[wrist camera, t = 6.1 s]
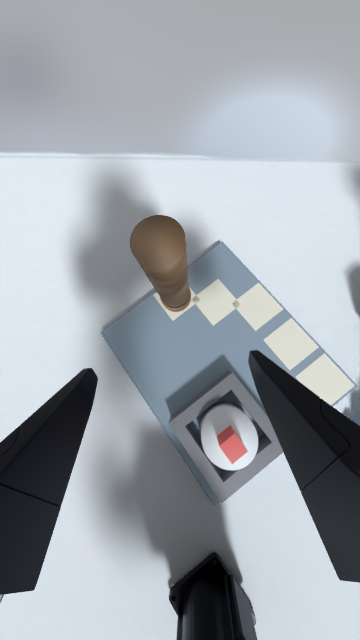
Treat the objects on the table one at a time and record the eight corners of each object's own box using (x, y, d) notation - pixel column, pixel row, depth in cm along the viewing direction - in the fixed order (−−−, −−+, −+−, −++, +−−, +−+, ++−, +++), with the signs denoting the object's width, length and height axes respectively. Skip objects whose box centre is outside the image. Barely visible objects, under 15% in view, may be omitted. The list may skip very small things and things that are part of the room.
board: (213, 499, 20) (216, 523, 17) (103, 333, 24) (91, 330, 21) (351, 384, 21) (375, 389, 18) (221, 244, 25) (224, 231, 22)
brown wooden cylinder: (173, 317, 23) (150, 281, 11) (155, 295, 24) (115, 236, 11) (197, 299, 23) (200, 243, 11) (179, 277, 24) (163, 201, 12)
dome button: (221, 465, 19) (229, 499, 15) (190, 421, 20) (189, 440, 16) (260, 433, 19) (279, 457, 15) (227, 391, 20) (236, 402, 16)
